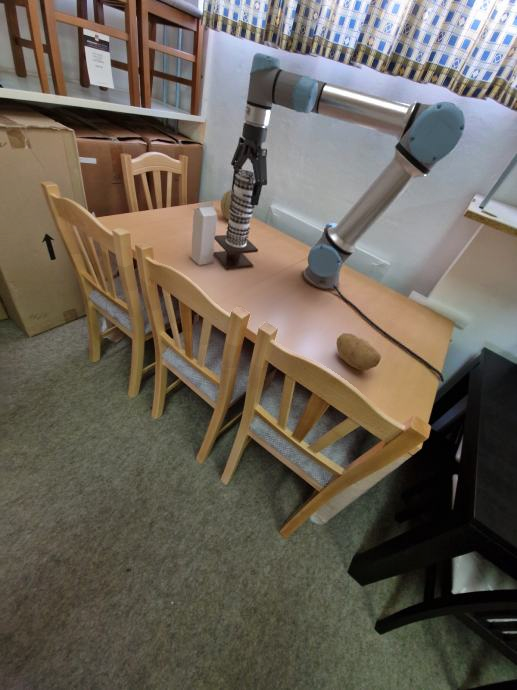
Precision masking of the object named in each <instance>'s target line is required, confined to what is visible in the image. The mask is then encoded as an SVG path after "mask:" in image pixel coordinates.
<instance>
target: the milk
mask: <svg viewBox="0 0 517 690" xmlns="http://www.w3.org/2000/svg"><path fill="white" fill-rule="evenodd" d="M217 221H218V213H217V211H216V209H215V208H214V202H213V201H212V202H199V204H198V207H197V208H194V209H193V217H192V233H191V251H190V253H191V254H190V258H191V260H193V262H195V263H196V264H197V265H198V266H202V265H207V264H212V263H213V257H214V249H215V248H214V247H215V241H216V240H215V236H216V230H217V223H218V222H217Z"/></svg>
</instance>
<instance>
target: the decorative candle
mask: <svg viewBox="0 0 517 690" xmlns="http://www.w3.org/2000/svg"><path fill="white" fill-rule="evenodd" d="M235 176H236V179H235V184H234V189H233V190H232V189H231V190H232V191H231V192H232V193H231V194H232V195H231V199H232V200H231V201H230V212H231V214H230V218H229V220H228V222H227V224H226V225H227V227H226V232H225V235H226V240H225V241H226V243H227V244H228V245H230V246H233V247H237V248H242V247H245V246H246V244H247V243H246V242H247V240H249V234H250V229H251V227H250V225H251V222H250V221H251V217H252V216H253V214H254V211H253V210H252V209H255V205H250V202H251V197H252V191H253V185H254V183H255V177H254V171H251V170H248V169H247V170H245V169H242V170H240V171H239V172H238V173H237V174H235ZM233 191H234V192H233Z"/></svg>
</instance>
